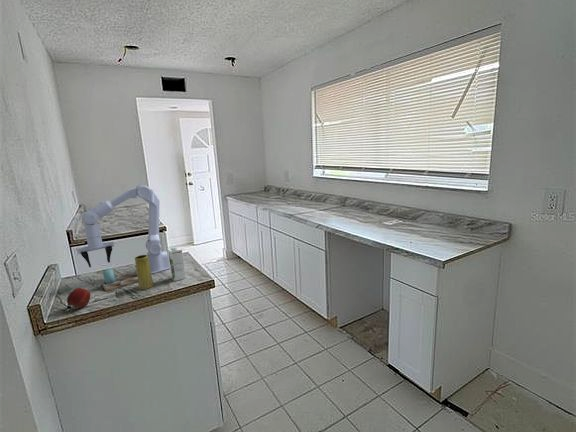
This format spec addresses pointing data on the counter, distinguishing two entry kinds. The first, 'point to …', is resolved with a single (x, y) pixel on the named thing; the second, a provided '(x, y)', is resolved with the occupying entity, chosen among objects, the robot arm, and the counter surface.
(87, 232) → the robot arm
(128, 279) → the brown tray
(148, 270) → the vase
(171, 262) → the syrup box
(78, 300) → the apple
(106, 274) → the peg
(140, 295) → the counter surface
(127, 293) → the counter surface
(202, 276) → the counter surface
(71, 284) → the counter surface
